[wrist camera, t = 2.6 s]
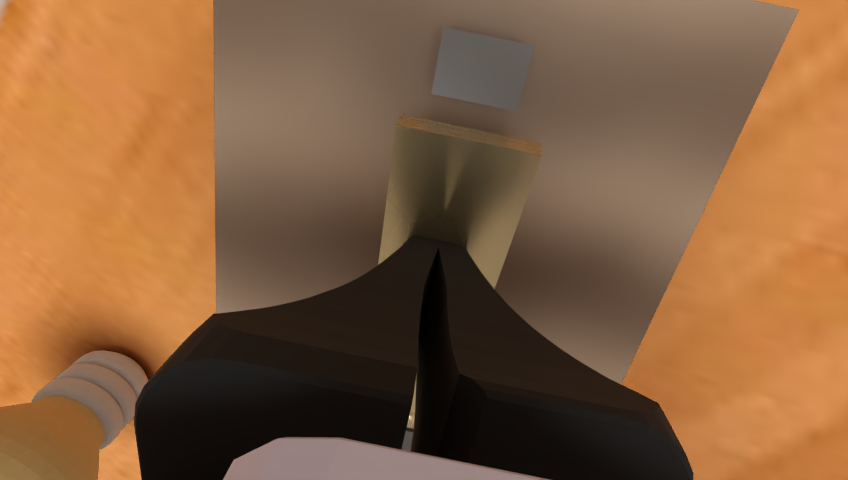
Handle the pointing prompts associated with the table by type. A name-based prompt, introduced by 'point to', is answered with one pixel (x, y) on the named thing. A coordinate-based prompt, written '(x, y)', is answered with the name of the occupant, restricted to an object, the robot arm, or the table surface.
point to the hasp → (457, 191)
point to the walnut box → (492, 112)
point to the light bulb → (70, 419)
